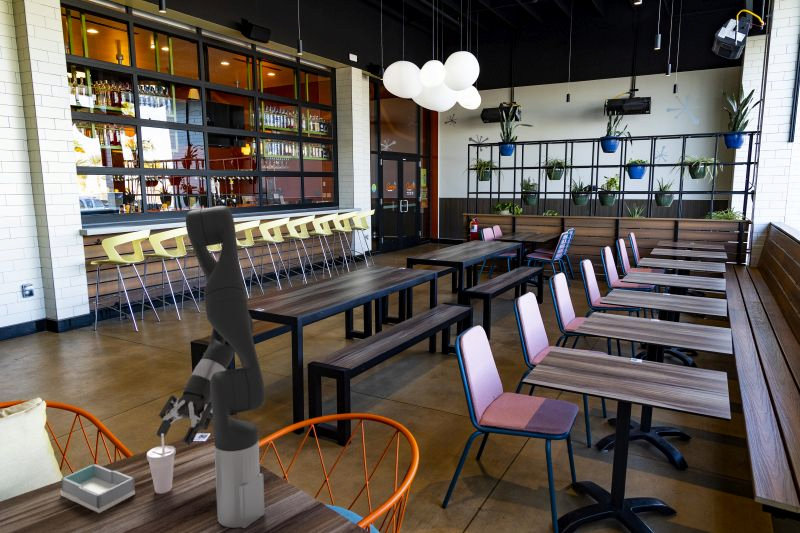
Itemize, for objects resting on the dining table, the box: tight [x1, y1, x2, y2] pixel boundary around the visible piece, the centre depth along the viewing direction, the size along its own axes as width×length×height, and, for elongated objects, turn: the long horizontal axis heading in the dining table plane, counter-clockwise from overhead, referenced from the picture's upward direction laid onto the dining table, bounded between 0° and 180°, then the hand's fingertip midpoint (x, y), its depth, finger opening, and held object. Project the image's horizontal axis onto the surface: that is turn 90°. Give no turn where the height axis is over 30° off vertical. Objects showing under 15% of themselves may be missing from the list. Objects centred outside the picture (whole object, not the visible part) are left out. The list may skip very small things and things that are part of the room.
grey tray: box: [60, 463, 136, 514], centre depth 126 cm, size 15×9×4 cm, turn 61°
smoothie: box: [146, 434, 177, 495], centre depth 128 cm, size 6×6×14 cm
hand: (172, 440), depth 131 cm, fingers open, 8 cm apart
